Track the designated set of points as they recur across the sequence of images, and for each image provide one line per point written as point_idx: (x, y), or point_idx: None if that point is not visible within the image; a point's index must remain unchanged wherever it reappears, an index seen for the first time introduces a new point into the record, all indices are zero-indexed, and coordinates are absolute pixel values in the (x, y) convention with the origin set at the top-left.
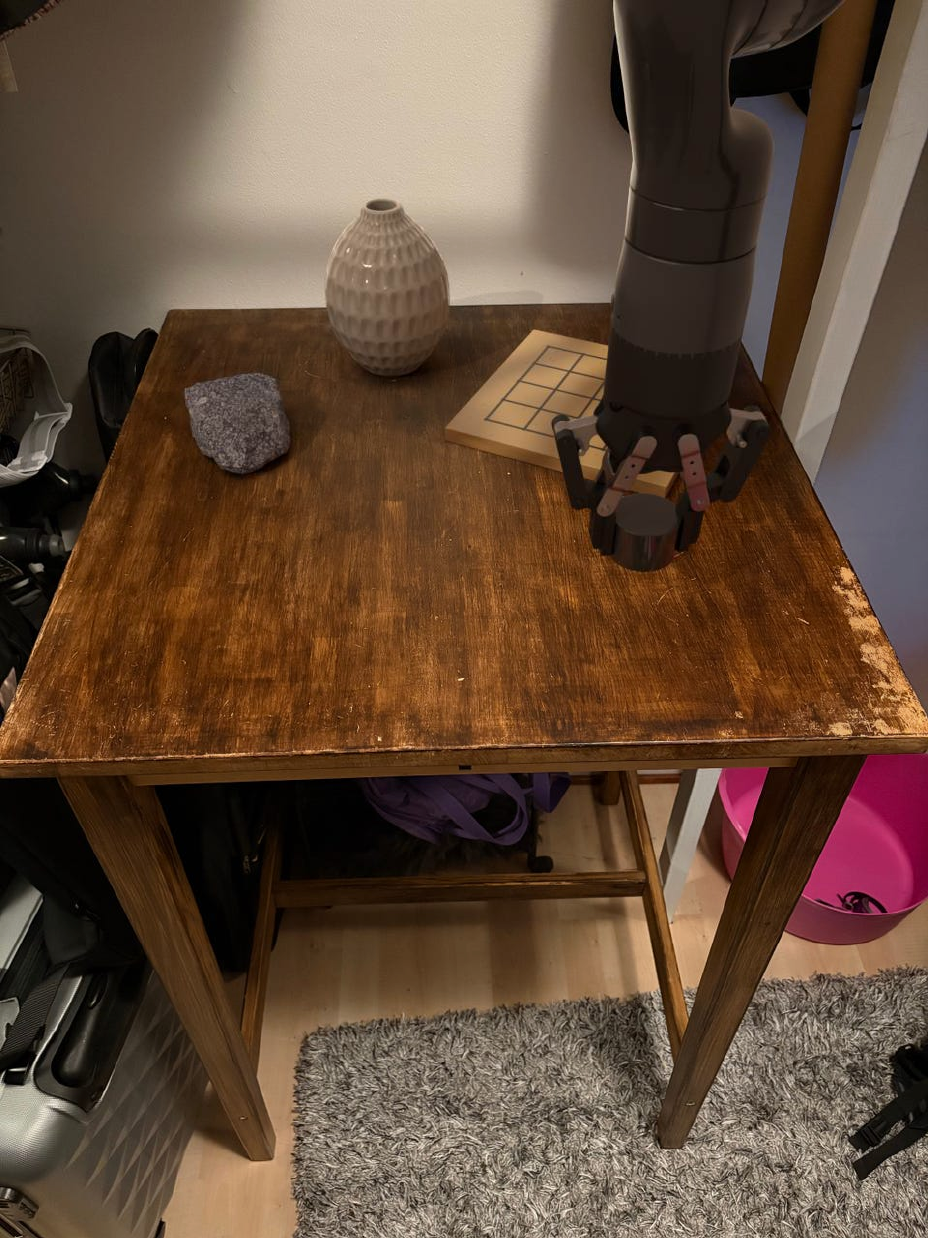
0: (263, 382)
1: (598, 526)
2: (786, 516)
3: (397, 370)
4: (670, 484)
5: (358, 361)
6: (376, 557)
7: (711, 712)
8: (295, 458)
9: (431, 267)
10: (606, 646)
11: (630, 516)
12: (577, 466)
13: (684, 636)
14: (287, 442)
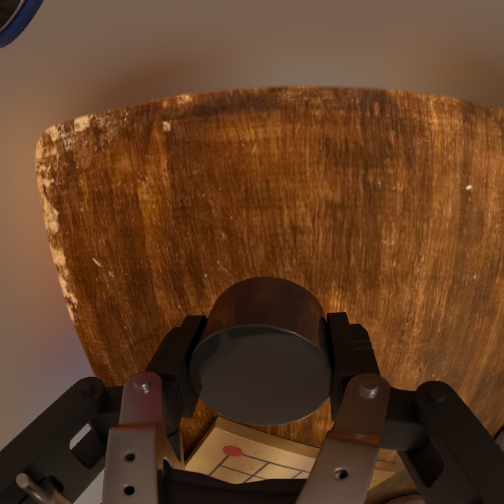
0: None
1: (364, 358)
2: (115, 382)
3: (405, 500)
4: (211, 428)
5: None
6: (494, 348)
7: (195, 126)
8: (496, 429)
9: None
10: (307, 229)
11: (294, 380)
12: (481, 479)
13: (211, 243)
14: (500, 438)
